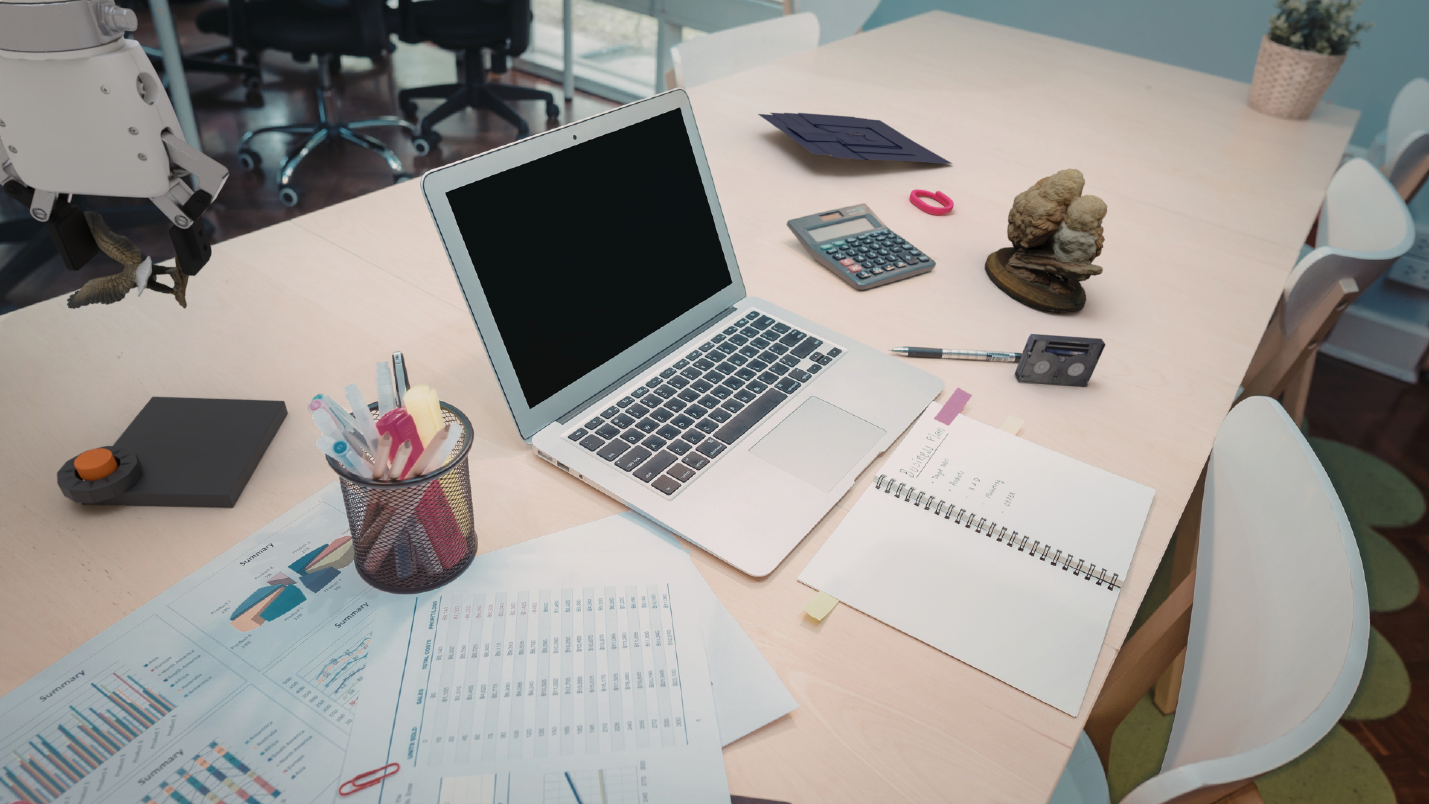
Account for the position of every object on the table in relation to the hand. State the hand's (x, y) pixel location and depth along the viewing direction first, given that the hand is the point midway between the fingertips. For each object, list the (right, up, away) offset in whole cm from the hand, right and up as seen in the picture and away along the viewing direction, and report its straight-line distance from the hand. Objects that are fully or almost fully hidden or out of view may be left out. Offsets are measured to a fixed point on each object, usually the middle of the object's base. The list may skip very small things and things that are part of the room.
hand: (141, 263), depth 63 cm
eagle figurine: (-1, -3, +2) cm, 3 cm away
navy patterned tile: (+70, +36, +89) cm, 119 cm away
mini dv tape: (+84, -8, +32) cm, 90 cm away
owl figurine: (+90, +5, +51) cm, 103 cm away
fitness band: (+80, +22, +71) cm, 109 cm away
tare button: (-6, -16, +4) cm, 18 cm away
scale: (-3, -16, +10) cm, 19 cm away
